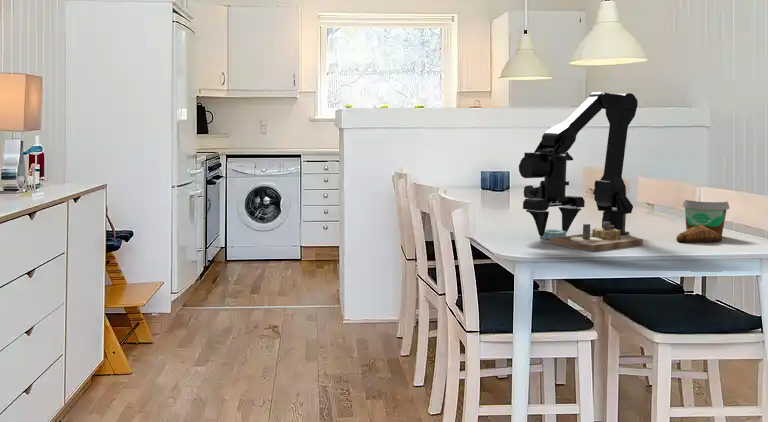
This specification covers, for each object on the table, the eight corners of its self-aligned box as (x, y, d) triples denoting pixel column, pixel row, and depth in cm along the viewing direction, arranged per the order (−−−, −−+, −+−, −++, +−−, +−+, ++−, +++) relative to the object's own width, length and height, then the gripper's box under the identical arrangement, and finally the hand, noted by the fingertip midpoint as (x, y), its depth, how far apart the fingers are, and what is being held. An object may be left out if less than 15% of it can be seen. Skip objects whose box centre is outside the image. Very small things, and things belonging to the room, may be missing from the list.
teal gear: (551, 235, 215) (552, 228, 215) (571, 239, 210) (571, 231, 209) (534, 237, 211) (534, 230, 211) (553, 241, 205) (554, 233, 205)
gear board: (599, 237, 212) (600, 217, 212) (642, 244, 201) (643, 223, 201) (549, 243, 201) (550, 222, 200) (592, 251, 190) (593, 229, 189)
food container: (680, 236, 217) (682, 201, 216) (680, 233, 223) (682, 199, 221) (728, 239, 212) (730, 203, 211) (727, 236, 218) (729, 201, 217)
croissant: (685, 245, 203) (686, 226, 202) (669, 241, 209) (670, 223, 209) (729, 244, 206) (730, 225, 206) (713, 240, 213) (714, 222, 212)
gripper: (555, 174, 220) (553, 228, 222) (508, 176, 209) (507, 233, 211) (587, 177, 211) (584, 233, 213) (539, 179, 200) (537, 238, 202)
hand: (552, 234), depth 210 cm, fingers open, 9 cm apart
